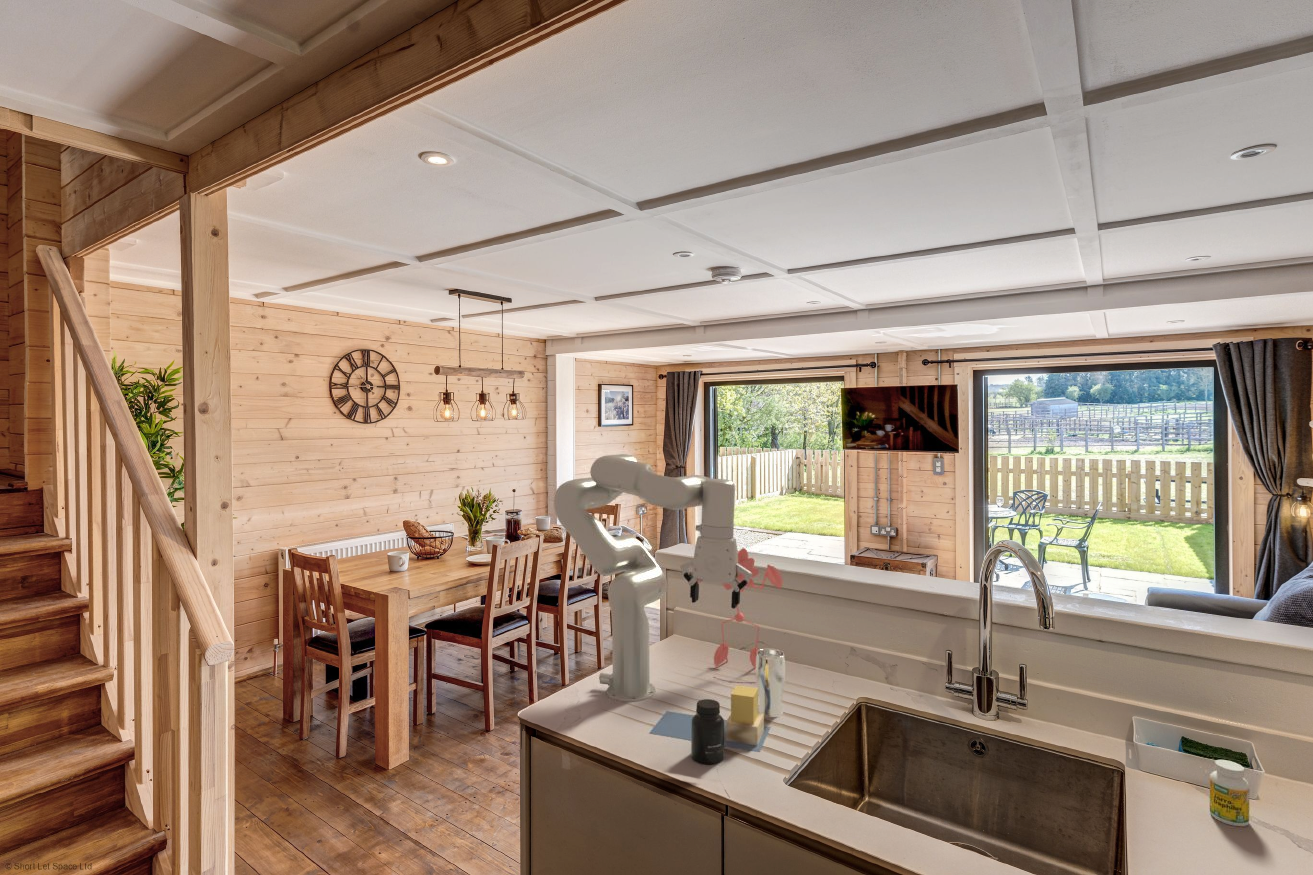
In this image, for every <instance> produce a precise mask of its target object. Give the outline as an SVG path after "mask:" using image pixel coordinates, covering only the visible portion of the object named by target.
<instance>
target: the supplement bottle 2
mask: <svg viewBox="0 0 1313 875" xmlns="http://www.w3.org/2000/svg"><path fill="white" fill-rule="evenodd" d="M1214 769H1215V770H1213V771H1212V772H1211V773H1210V775H1209V814H1210V815H1211V816H1212V817H1213V818H1214V819H1215V820H1217V821H1219V822H1222V823H1223V824H1226V825H1229V826H1234V827H1246V826H1248V825H1249V823H1250V789H1251V788H1250V783H1249V782H1248V780H1247V779H1246V778H1244V777H1245V767H1244V766H1242V765H1241V764H1240V763H1237V762H1234V761H1231V760H1226V759H1217V760H1214Z"/></svg>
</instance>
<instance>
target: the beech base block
mask: <svg viewBox="0 0 1313 875" xmlns="http://www.w3.org/2000/svg"><path fill="white" fill-rule="evenodd" d="M764 726H765V716H764V714H763V713H758V716H757V719H756V721H755V723H754V725H753V724H747V723H740V722H734V721H731V713H730V714H729V716H728V717H727V721H726V740H727V741H733V742H739V743H745V744H751V745H757V746H758V743H759V741H760V739H761V737H762V734H763V732H764Z"/></svg>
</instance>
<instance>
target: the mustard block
mask: <svg viewBox="0 0 1313 875" xmlns="http://www.w3.org/2000/svg"><path fill="white" fill-rule="evenodd" d="M730 693H731V694H730V714H731V721H734V722H740V723H747V724H753V725H754V723H755V721H756V719H757V716H758V708H759V691H758V687H750V686H744V685H743V686H742V685H735V687H734V688H733V690H732V692H730Z"/></svg>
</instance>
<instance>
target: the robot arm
mask: <svg viewBox="0 0 1313 875" xmlns="http://www.w3.org/2000/svg"><path fill="white" fill-rule="evenodd" d="M654 471H655V470H654V469H653V467H652V466H651V465H650V464H648V463H646V462H641V461H638V460H637V458H635V457H634V456H632V455H629V454H626V453H625V454H623V453H622V454H609V455H608V454H607V455H602V456H600V457H598V458H596V459H595V460H594V462H593V463H592V464H591V466H590V471H589V472H590V473H589V474H590V477H585V478H584V477H583V478H582V477H581V478H575V479H571V480H568V481H565V482H564V483H562V484H560V486H558V487H557V489H556V491H555V492H554V493H555V494H554V498H553V508H554V511H555V512H554V513H555V515H556V518H557V520H558V522H559V523H560V524H561V526H562V527H563V529H565V531H566V532H567V533H568V534H569V536H570V537H571V538H572V539H573V540H574V542H575V543H576V544H577V546H578V547H579V550H580V551H581V552H582V553H583V555H584V556H585V558H586V559H587V561H588V562H589V564H590V565H591V566H592V568H594V570H595V571H596V572H597V573H598V575H600V576H604V577H609V576H614V575H617V574H618V575H617V576H615V577H614V578H613V579H612V580H611V582H610V584H609V586H608V590H607V596H608V602H609V603H608V604H609V608H610V613H611V629H612V630H611V632H612V634H611V635H612V638H611V639H612V640H611V641H612V650H611V651H612V673H611V674H609V673H604V672H600V673H599V676H598V680H599V684H600V685H607V686H608V687H607V688H606V696H607V698H611V699H612V700H616V701H619V702H626V703H627V702H628V703H629V702H632V703H633V702H640V701H646V700H648V699H650V698H652V697H653V696H654V695H656V692H657V691H656V687H655V685H653V684H651V682H650V677H651V676H650V675H651V674H650V669H651V668H650V623H649V618H648V616H647V614H646V610H645V606H647V605H650V604H652V603H654V602H656V601H659V600H660V599H662V598H663V597H664V596H665V594H666V592H667V590H668V582H667V578H666V576H665V573H664V571H663V570H662V569H661V567H660V566H659V564H658V563H657V561H655V559H654V557H653V556H652V555H651V553H650V552H649V551H648V550H647V548H646V547H645V546H644V544H643V543H642V542H641V541H640V540H639V539H638V538H636V537H635V536H632V535H629V534H621V535H617V536H613V535H612V534H610V532H609V531H608V529H606V527H605V526H604V524H603V522H602V521H600V519H598V518H596V517H595V516H594V515H592V514H591V513H590V512H588V510H591V509H596V508H602V507H605V506H607V505H610V503H612V502H614V500H616V499H617V498H618V497H619V496H621V495H622V494H629V495H632V496H635V497H638V498H639V499H640V500H641V501H643V502H644V503H647V504H649V505H651V506H654V507H655V506H656V507H660V508H664V509H668V510H674V511H680V510H685V509H688V508H695V507H700V506H701V523H700V524H696V525H695V527H694V528H695V532H699V536H697V538H696V541H695V547H694V553H693V559H692V560H689V561H687V562H685V563H682V564H680V566H679V567H680V570H681V572H682V574H683V577H684V579H685V580H686V581H687V582H688V585H689V586H690V587H689V588H690V589H689V592H690V593H689V595H690V596H689V598H691V603H693V604H695V603H696V602H697V601H699V595H700V592H699V591H700V583H697V581H698V580H702V581H701V582H711V583H719V584H722V583H725V584H729V583H730V585H731V586H732V589H733V590H732V592H731V605H730V606H731V609H737V608H736V607H737V605H740V602H741V591H740V590H741V589H742V588H743V587H744V586H745V587H747V586H746V585H747V584H748V582H749V580H750V579H752V578H751V577H752V575H753V574H752V572H750V571H749V570H747V569H745V568H744V567H742V566H741V565H739V564H738V552H739V551H738V545H737V540H736V538H735V537H734V531H735V530H734V526H735V525H734V524H735V523H734V522H735V504H736V503H735V498H736V497H735V496H736V485H735V483H734V481H732V480H730V479H726V478H712V477H707V476H704V475H699V474H692V475H684V476H678V477H673V476H671V477H670V476H665V475H662V474H657V473H655V472H654ZM691 567H692V573H691V572H690V571H689V568H691ZM738 572H740V573H741V574H743V575H744V579H743V581H742V582H741V583H740V582H739V581H738V579H737V577H738Z"/></svg>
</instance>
